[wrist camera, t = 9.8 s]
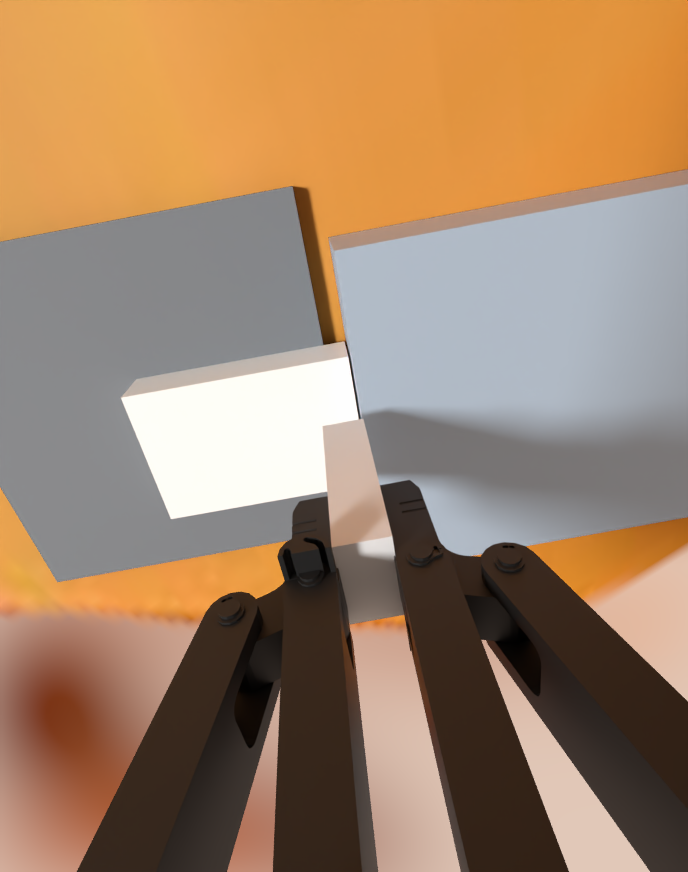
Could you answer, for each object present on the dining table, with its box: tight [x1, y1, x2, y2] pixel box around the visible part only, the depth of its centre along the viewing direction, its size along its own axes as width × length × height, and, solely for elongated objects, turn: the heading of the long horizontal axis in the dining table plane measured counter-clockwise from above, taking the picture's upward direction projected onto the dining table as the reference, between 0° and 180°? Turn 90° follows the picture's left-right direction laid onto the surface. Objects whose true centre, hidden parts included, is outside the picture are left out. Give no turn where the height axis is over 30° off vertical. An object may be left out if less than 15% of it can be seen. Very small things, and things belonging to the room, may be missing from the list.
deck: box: [328, 169, 688, 556], centre depth 21 cm, size 22×14×4 cm, turn 100°
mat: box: [0, 186, 328, 582], centre depth 22 cm, size 16×16×1 cm
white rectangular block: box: [121, 341, 359, 519], centre depth 21 cm, size 9×6×2 cm, turn 99°
